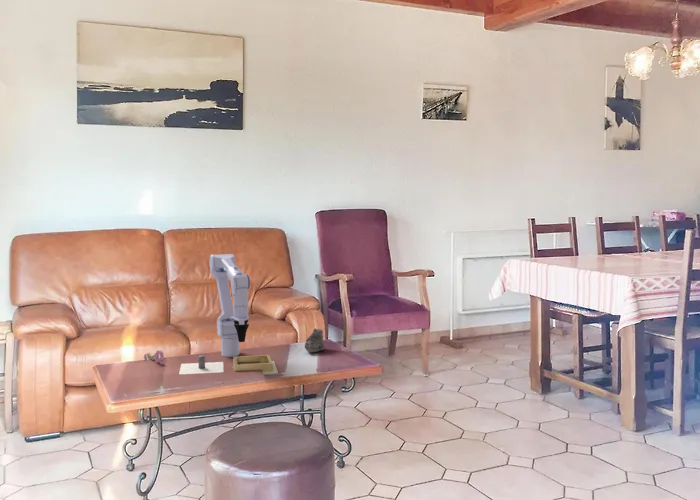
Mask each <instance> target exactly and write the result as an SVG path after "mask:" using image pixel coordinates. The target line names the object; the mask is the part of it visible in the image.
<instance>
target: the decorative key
mask: <svg viewBox="0 0 700 500" xmlns="http://www.w3.org/2000/svg"><path fill="white" fill-rule="evenodd" d="M164 358H165V357H164V352H163V350H161V349H159V350H156V352H155V353H154V355H152V354H151V352H147V353H145V354H144V356H143V360H144V361H147V359H149V360H152V361H154V362H155V363H159V365H164V364H165V363H164Z"/></svg>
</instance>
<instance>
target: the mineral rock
mask: <svg viewBox="0 0 700 500" xmlns="http://www.w3.org/2000/svg"><path fill="white" fill-rule="evenodd" d="M323 334H324V333H323V329H320V328H318V329H317V328H314V329H313V330H312V333H311V334H310V335H309V336H308V338H307V339H306V340H305V343H304V349H305V351H307V352H308V353H317V352H320V351H323V350H325V349H326V347H325V342H324V335H323Z"/></svg>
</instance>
